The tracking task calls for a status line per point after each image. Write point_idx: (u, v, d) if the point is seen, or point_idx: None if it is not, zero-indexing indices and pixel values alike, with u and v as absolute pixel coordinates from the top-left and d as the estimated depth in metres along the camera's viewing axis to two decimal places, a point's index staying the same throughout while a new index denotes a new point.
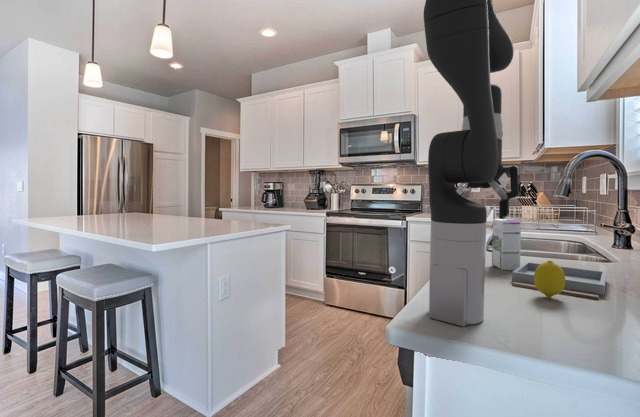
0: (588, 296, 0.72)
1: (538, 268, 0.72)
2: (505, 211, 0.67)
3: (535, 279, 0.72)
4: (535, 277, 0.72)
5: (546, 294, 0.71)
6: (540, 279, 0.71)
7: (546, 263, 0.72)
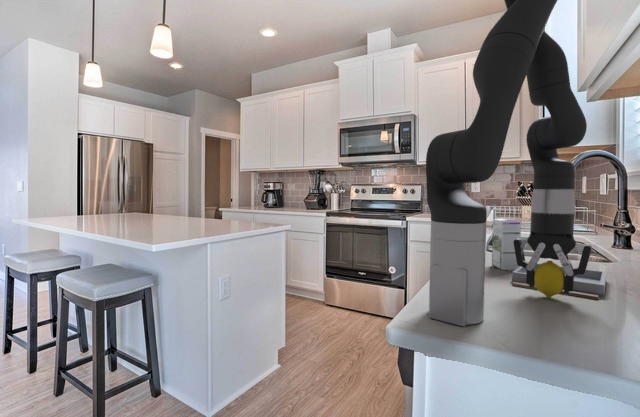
0: (588, 296, 0.72)
1: (538, 268, 0.72)
2: (570, 286, 0.69)
3: (535, 279, 0.72)
4: (535, 277, 0.72)
5: (546, 294, 0.71)
6: (540, 279, 0.71)
7: (546, 263, 0.72)
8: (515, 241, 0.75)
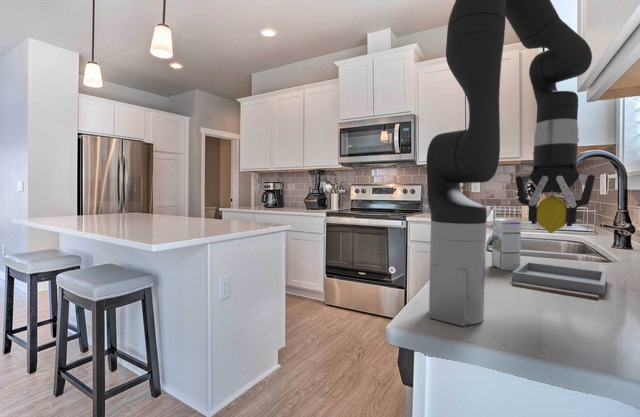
0: (588, 296, 0.72)
1: (540, 203, 0.71)
2: (573, 219, 0.68)
3: (537, 214, 0.71)
4: (537, 212, 0.71)
5: (548, 229, 0.70)
6: (542, 212, 0.70)
7: (549, 197, 0.71)
8: (517, 178, 0.74)
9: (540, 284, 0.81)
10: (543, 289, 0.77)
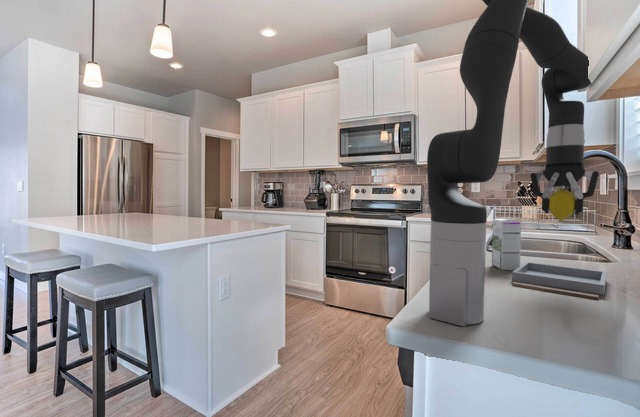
0: (588, 296, 0.72)
1: (552, 195, 0.84)
2: (580, 208, 0.81)
3: (550, 205, 0.84)
4: (550, 203, 0.84)
5: (559, 217, 0.83)
6: (554, 203, 0.83)
7: (559, 190, 0.83)
8: (532, 174, 0.87)
9: (540, 284, 0.81)
10: (543, 289, 0.77)
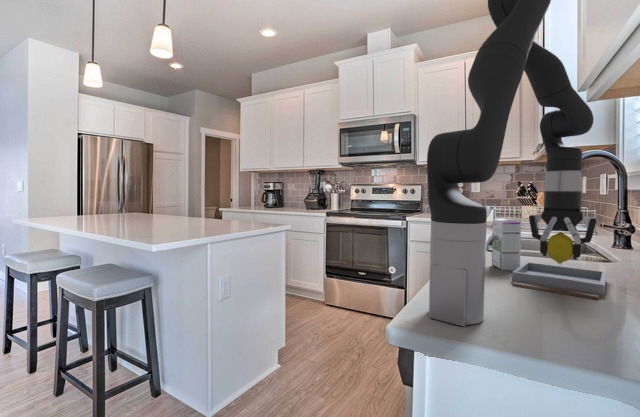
0: (588, 296, 0.72)
1: (550, 239, 0.85)
2: (578, 253, 0.82)
3: (548, 248, 0.85)
4: (548, 246, 0.85)
5: (557, 260, 0.84)
6: (552, 247, 0.84)
7: (557, 234, 0.84)
8: (530, 216, 0.87)
9: (540, 284, 0.81)
10: (543, 289, 0.77)
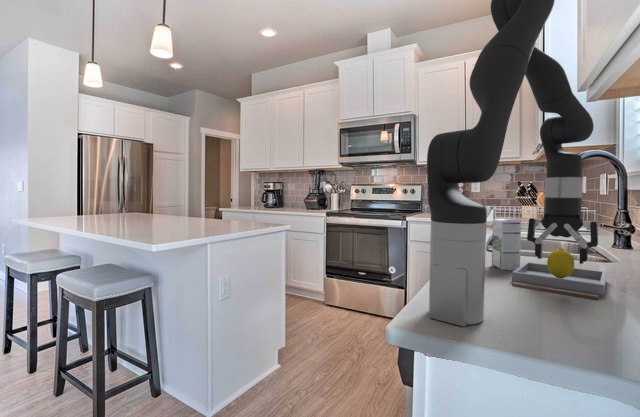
0: (588, 296, 0.72)
1: (551, 254, 0.85)
2: (585, 257, 0.81)
3: (548, 264, 0.85)
4: (548, 262, 0.85)
5: (557, 276, 0.84)
6: (553, 263, 0.83)
7: (558, 250, 0.84)
8: (531, 219, 0.87)
9: (540, 284, 0.81)
10: (543, 289, 0.77)
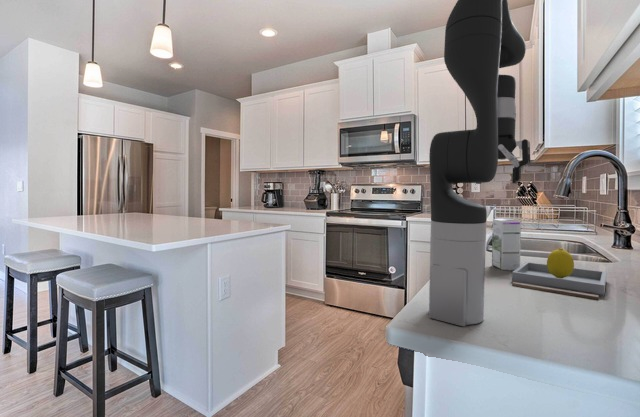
0: (588, 296, 0.72)
1: (550, 255, 0.85)
2: (517, 176, 0.82)
3: (548, 264, 0.85)
4: (548, 262, 0.85)
5: (557, 277, 0.84)
6: (552, 263, 0.84)
7: (557, 250, 0.84)
8: None
9: (540, 284, 0.81)
10: (543, 289, 0.77)
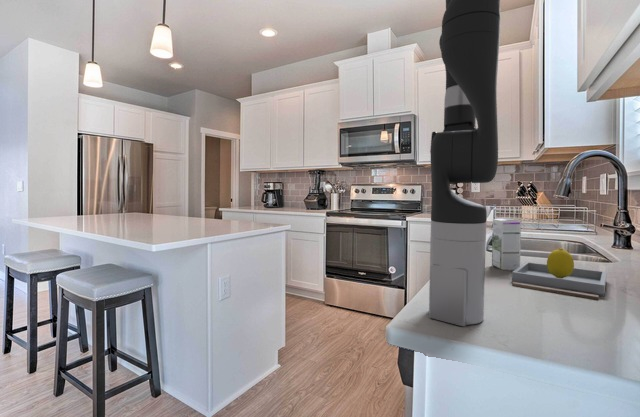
0: (588, 296, 0.72)
1: (550, 255, 0.85)
2: None
3: (548, 264, 0.85)
4: (548, 262, 0.85)
5: (557, 277, 0.84)
6: (552, 263, 0.84)
7: (557, 250, 0.84)
8: (433, 133, 0.90)
9: (540, 284, 0.81)
10: (543, 289, 0.77)
